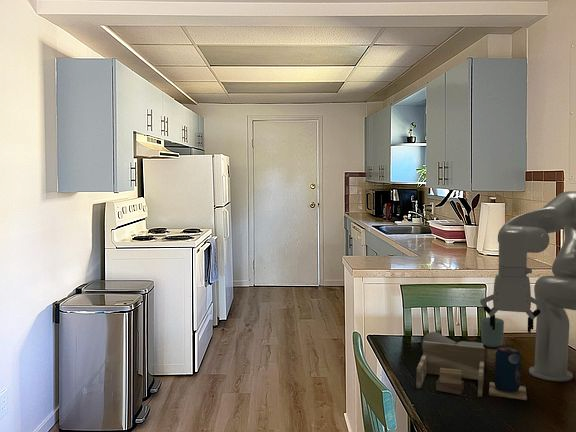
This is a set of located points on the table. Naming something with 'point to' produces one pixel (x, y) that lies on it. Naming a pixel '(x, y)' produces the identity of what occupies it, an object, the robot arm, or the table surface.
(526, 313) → the robot arm
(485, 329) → the cup
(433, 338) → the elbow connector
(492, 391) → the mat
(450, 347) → the rack
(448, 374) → the offcut oak
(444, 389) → the offcut walnut
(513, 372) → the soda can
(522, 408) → the table surface
